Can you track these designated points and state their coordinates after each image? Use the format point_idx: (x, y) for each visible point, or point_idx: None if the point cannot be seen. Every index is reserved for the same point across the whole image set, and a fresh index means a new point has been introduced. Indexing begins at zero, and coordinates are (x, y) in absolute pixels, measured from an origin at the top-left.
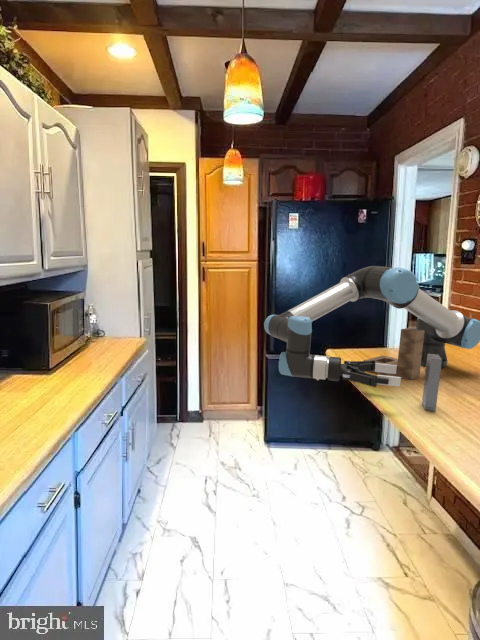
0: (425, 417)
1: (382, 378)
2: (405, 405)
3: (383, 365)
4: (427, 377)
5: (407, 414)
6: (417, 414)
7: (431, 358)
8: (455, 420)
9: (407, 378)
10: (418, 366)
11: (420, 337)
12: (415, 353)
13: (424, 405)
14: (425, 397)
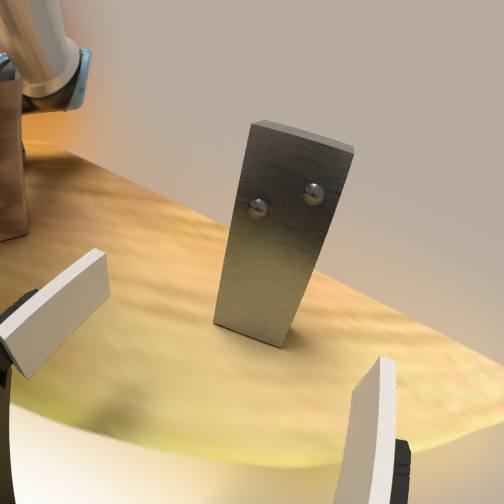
0: (340, 374)
1: (394, 480)
2: (225, 384)
3: (47, 307)
4: (295, 240)
5: (324, 420)
6: (318, 387)
7: (353, 153)
8: (341, 311)
9: (17, 234)
10: (23, 185)
11: (20, 98)
12: (18, 151)
13: (268, 334)
14: (278, 312)
